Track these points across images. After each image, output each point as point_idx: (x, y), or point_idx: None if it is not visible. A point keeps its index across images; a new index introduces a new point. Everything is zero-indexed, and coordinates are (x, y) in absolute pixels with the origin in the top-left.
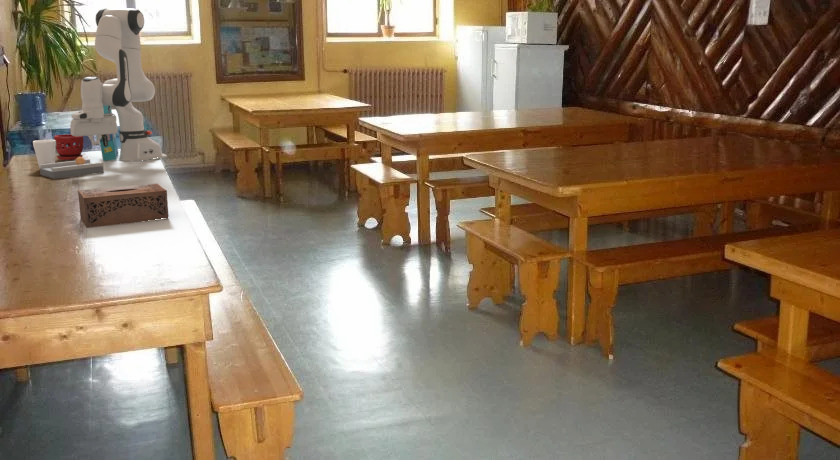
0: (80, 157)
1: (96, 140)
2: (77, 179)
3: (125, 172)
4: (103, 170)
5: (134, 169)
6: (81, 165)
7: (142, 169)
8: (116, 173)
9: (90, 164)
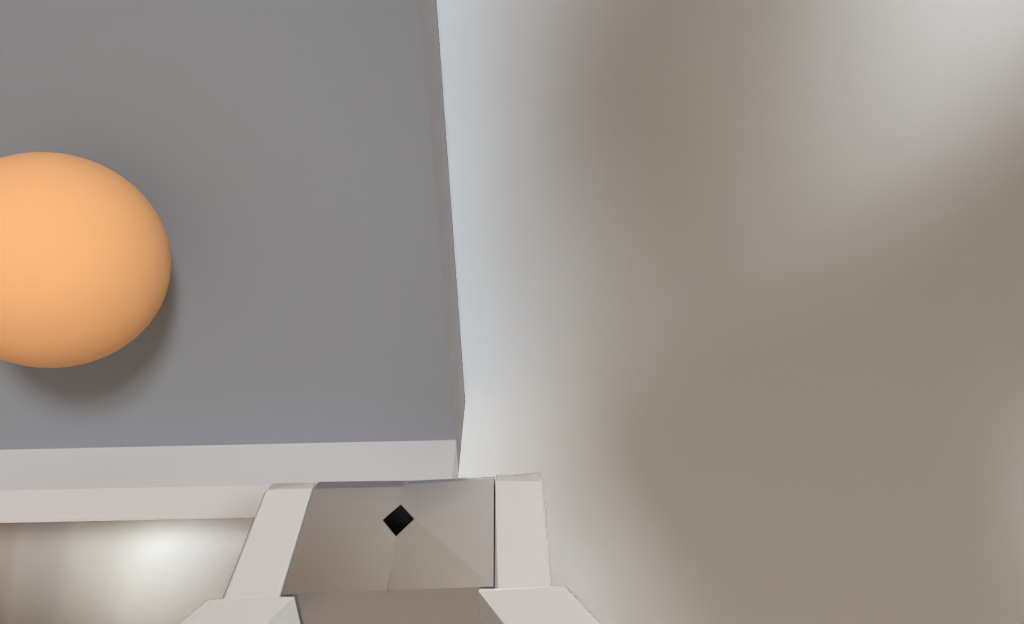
0: (8, 344)
1: (490, 604)
2: (32, 613)
3: (692, 554)
4: (462, 420)
5: (933, 433)
6: (56, 514)
7: (996, 498)
8: (569, 549)
9: (221, 512)
